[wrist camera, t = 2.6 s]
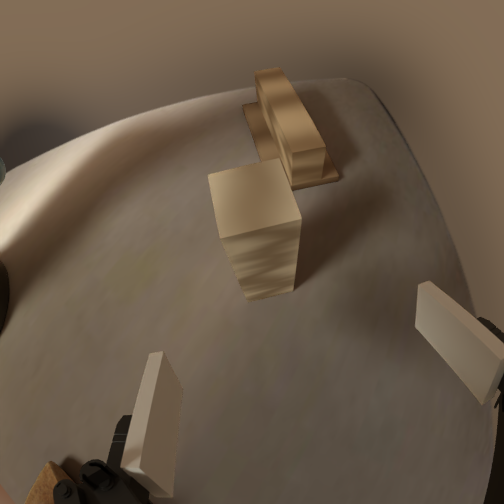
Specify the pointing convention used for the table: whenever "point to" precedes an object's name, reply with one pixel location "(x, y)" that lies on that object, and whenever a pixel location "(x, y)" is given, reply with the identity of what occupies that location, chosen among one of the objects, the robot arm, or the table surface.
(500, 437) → the robot arm
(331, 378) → the table surface
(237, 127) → the table surface
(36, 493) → the tan upright curved piece
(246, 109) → the ridge
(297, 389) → the table surface
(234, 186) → the block
